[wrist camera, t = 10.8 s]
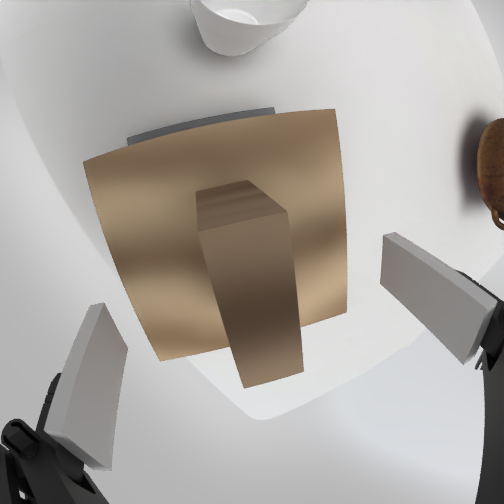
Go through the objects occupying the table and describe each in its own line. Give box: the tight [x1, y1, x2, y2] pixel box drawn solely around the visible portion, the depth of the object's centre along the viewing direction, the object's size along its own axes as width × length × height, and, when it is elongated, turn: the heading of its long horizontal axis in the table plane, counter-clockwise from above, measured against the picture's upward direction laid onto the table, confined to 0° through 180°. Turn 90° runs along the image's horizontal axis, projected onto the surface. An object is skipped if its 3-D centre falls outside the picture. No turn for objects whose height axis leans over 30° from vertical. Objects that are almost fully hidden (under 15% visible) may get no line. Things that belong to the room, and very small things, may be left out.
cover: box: [83, 109, 347, 388], centre depth 20 cm, size 15×15×22 cm
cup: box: [190, 0, 308, 56], centre depth 18 cm, size 9×9×12 cm
